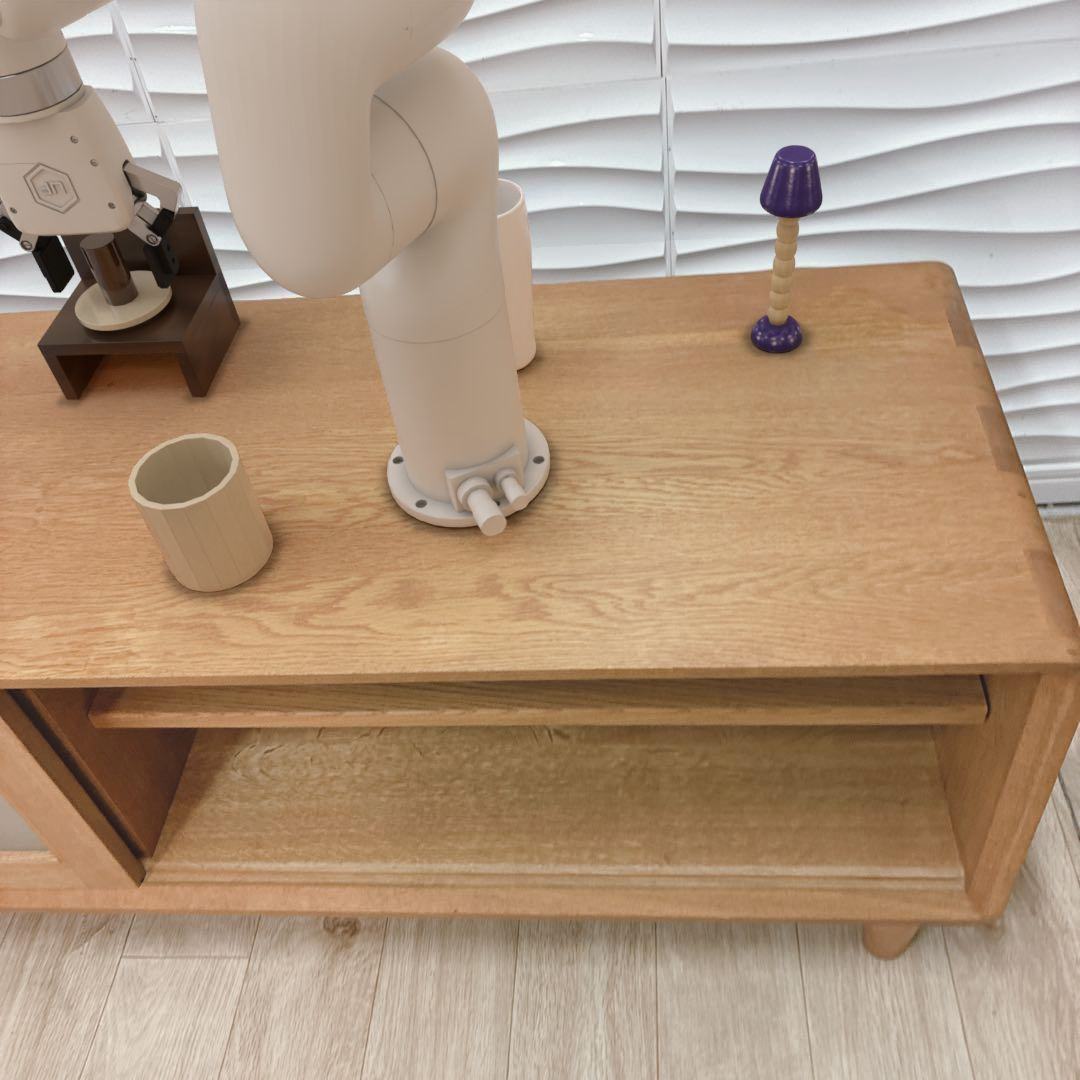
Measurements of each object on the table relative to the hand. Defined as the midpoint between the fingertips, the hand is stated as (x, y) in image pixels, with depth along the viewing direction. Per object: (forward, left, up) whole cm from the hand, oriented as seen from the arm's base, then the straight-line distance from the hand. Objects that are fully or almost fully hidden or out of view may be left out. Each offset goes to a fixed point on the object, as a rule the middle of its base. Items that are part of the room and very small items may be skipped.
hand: (116, 281), depth 92 cm
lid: (0, 0, -2) cm, 2 cm away
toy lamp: (-26, -49, -9) cm, 57 cm away
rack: (+1, 0, -9) cm, 9 cm away
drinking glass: (-16, -28, -9) cm, 34 cm away
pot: (-27, -1, -9) cm, 29 cm away
